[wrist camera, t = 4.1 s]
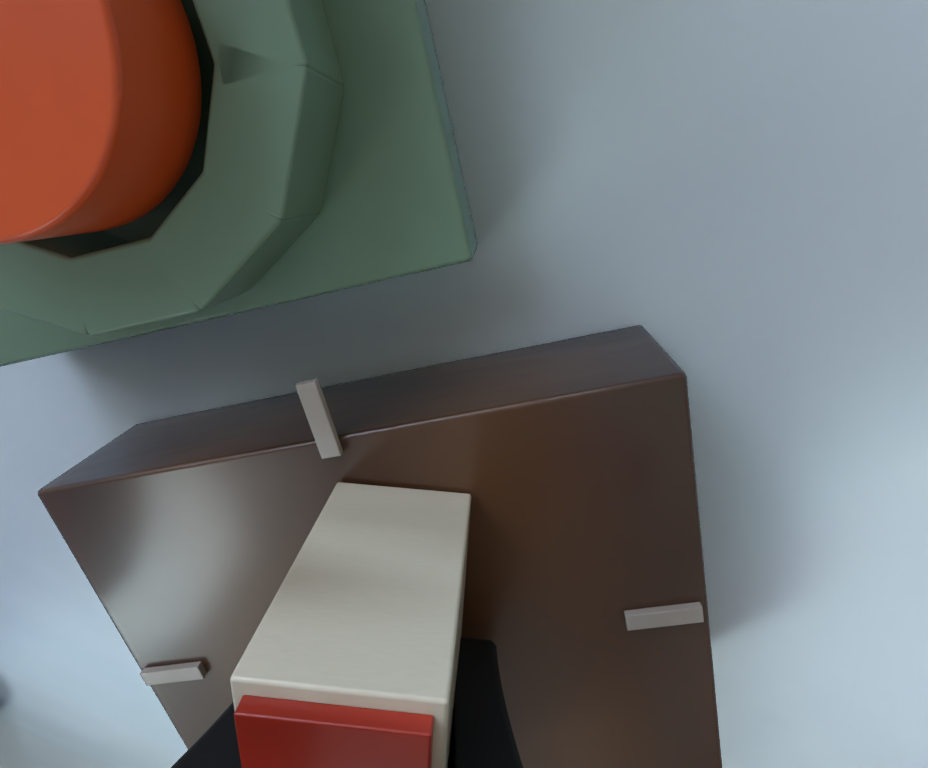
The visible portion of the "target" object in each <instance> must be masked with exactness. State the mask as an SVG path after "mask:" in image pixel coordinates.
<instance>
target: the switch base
mask: <svg viewBox="0 0 928 768" xmlns="http://www.w3.org/2000/svg"><path fill="white" fill-rule="evenodd" d="M295 387H296V389H297V392H298V393H293V394H288V395H283V396H278V397H273V398H268V399H263V400H258V401H253V402H248V403H242V404H237V405H232V406H227V407H222V408H217V409H212V410H207V411H202V412H197V413H192V414H187V415H182V416H177V417H171V418H166V419H161V420H156V421H151V422H146V423H141V424H136V425H135V426H133V427H132V428H130V429H129V430H127V431H126V432H124V433H123V434H121V435H120V436H118V437H117V438H115V439H114V440H112V441H111V442H110V443H108V444H107V445H105V446H104V447H102V448H101V449H99V450H98V451H96V452H95V453H93V454H92V455H90V456H89V457H87V458H86V459H84V460H83V461H81V462H80V463H78V464H77V465H75V466H74V467H72V468H71V469H69V470H68V471H66V472H65V473H63V474H62V475H61V476H59V477H58V478H56V479H55V480H53V481H52V482H50V483H49V484H47V485H46V486H44V487H43V488H41V489H40V490H39V491H38V496H39V497H40V499H41V501H42V503H43V504H44V506H45V508H46V509H47V511H48V513H49V514H50V516H51V518H52V519H53V521H54V523H55V525H56V526H57V528H58V530H59V531H60V533H61V535H62V536H63V538H64V540H65V541H66V543H67V545H68V547H69V548H70V550H71V552H72V553H73V555H74V557H75V558H76V560H77V562H78V563H79V565H80V567H81V569H82V570H83V572H84V574H85V575H86V577H87V579H88V580H89V582H90V584H91V586H92V587H93V589H94V591H95V592H96V594H97V596H98V597H99V599H100V601H101V602H102V604H103V606H104V608H105V609H106V611H107V613H108V614H109V616H110V618H111V619H112V621H113V623H114V624H115V626H116V628H117V630H118V631H119V633H120V635H121V636H122V638H123V640H124V641H125V643H126V645H127V646H128V648H129V650H130V652H131V653H132V655H133V657H134V658H135V660H136V662H137V663H138V665H139V667H140V669H141V670H142V671H141V673H140V675H141V677H142V679H143V680H144V682H145V684H146V685H151V687H152V689H153V691H154V692H155V694H156V696H157V697H158V699H159V701H160V702H161V704H162V706H163V707H164V709H165V711H166V713H167V714H168V716H169V718H170V719H171V721H172V723H173V724H174V726H175V728H176V729H177V731H178V733H179V735H180V736H181V738H182V740H183V741H184V743H185V745H186V746H187V748H188V750H189V749H190V748H191V747H192V746H193V745H194V744H195V743H196V741H197V740H198V739H199V738H200V737H201V736H202V735H203V734H204V733H205V732H206V731H207V730H208V729H209V728H210V727H211V726H212V725H213V724H214V723H215V721H216V720H217V719H218V718H219V717H220V716H221V715H222V714H223V712H224V711H225V710H226V709H227V708H228V707H229V706H230V705H231V704H232V702H233V697H232V690H231V683H230V678H231V675H232V674H233V672H234V670H235V668H236V666H237V664H238V663H239V661H240V659H241V657H242V655H243V654H244V652H245V650H246V648H247V646H248V644H249V643H250V641H251V639H252V637H253V635H254V633H255V632H256V630H257V628H258V626H259V624H260V623H261V621H262V619H263V617H264V615H265V613H266V612H267V610H268V608H269V606H270V604H271V603H272V601H273V599H274V597H275V595H276V593H277V592H278V590H279V588H280V586H281V584H282V582H283V581H284V579H285V577H286V575H287V573H288V572H289V570H290V568H291V566H292V564H293V562H294V561H295V559H296V557H297V555H298V553H299V552H300V550H301V548H302V546H303V544H304V542H305V541H306V539H307V537H308V535H309V533H310V531H311V530H312V528H313V526H314V524H315V522H316V521H317V519H318V517H319V515H320V513H321V511H322V510H323V508H324V506H325V504H326V502H327V501H328V499H329V497H330V495H331V493H332V491H333V490H334V488H335V486H336V484H337V483H339V482H343V483H354V484H365V485H376V486H388V487H399V488H410V489H421V490H432V491H444V492H455V493H466V494H470V495H471V510H470V524H469V538H468V552H467V566H466V580H465V594H464V607H463V621H462V635H461V637H463V638H473V639H483V640H491V641H492V642H493V643H494V644H495V645H496V646H497V659H498V667H499V673H500V679H501V684H502V690H503V694H504V699H505V703H506V707H507V712H508V716H509V720H510V724H511V728H512V731H513V735H514V738H515V742H516V745H517V748H518V752H519V755H520V759H521V762H522V766H523V768H722V760H721V749H720V738H719V727H718V716H717V705H716V694H715V683H714V672H713V661H712V650H711V639H710V628H709V617H708V606H707V595H706V584H705V573H704V562H703V551H702V540H701V530H700V519H699V508H698V497H697V486H696V475H695V464H694V453H693V442H692V431H691V420H690V409H689V398H688V387H687V376H686V375H685V373H684V372H683V371H682V370H681V368H680V367H679V366H678V365H677V364H676V363H675V362H674V361H673V360H672V359H671V357H670V356H669V355H668V354H667V353H666V352H665V351H664V350H663V349H662V347H661V346H660V345H659V344H658V343H657V342H656V341H655V340H654V339H653V338H652V336H651V335H650V334H649V333H648V332H647V331H646V330H645V329H644V328H643V326H639V325H638V326H633V327H628V328H623V329H618V330H613V331H608V332H603V333H598V334H592V335H587V336H582V337H577V338H572V339H567V340H562V341H557V342H552V343H547V344H542V345H537V346H532V347H527V348H521V349H516V350H511V351H506V352H501V353H496V354H491V355H486V356H481V357H476V358H471V359H466V360H461V361H456V362H450V363H445V364H440V365H435V366H430V367H425V368H420V369H415V370H410V371H405V372H400V373H395V374H390V375H384V376H379V377H374V378H369V379H364V380H359V381H354V382H349V383H344V384H339V385H334V386H329V387H324V388H321V386H320V383H319V380H318V379H312V380H307V381H302V382H298V383H297V384H296V385H295Z"/></svg>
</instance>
